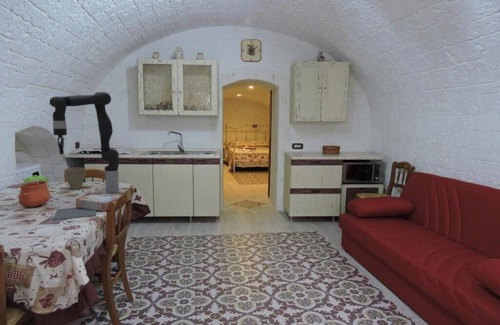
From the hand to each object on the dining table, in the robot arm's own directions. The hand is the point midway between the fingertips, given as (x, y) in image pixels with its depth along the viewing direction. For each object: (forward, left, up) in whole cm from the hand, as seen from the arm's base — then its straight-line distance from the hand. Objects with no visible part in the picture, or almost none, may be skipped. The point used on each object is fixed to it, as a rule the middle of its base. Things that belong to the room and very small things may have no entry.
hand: (61, 154), depth 215 cm
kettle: (-55, -25, -33) cm, 69 cm away
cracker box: (+14, +11, -29) cm, 34 cm away
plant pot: (-45, +4, -33) cm, 56 cm away
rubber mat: (+28, +8, -33) cm, 44 cm away
